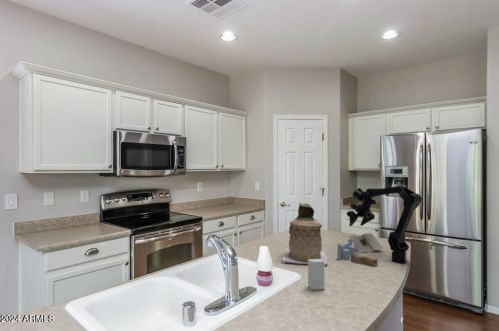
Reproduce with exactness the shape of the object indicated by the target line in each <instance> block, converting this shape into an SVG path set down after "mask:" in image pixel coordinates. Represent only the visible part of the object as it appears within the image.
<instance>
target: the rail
mask: <svg viewBox="0 0 499 331" xmlns="http://www.w3.org/2000/svg"><path fill="white" fill-rule="evenodd" d="M350 262H351V263H354V264H358V265H364V266H368V267H373V268H376V267H378V258H374V257H369V256H366V255H359V254H356V255H355V254H353V255H351V256H350Z"/></svg>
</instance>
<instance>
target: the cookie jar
mask: <svg viewBox="0 0 499 331" xmlns="http://www.w3.org/2000/svg"><path fill="white" fill-rule="evenodd" d="M297 213H298V214H297V216H296V218H295V219H292V220H290V221H289V227H288V228H289V230H288V234H289V240H288V247H289V248H288V247H285V249H284V251H283V255H282V258H281V261H282V263H283V264H285V263H289V264H291V263H292V264H299V265H300V264H302V265H304V264H305V265H308V259H322V260H323V261H324V267H327V265H328V259H327V258H328V257H327V254H326V253H327V252H326V251H324V250H322V246H323V245H322V241H323V240H322V235H321V233H322V232H321V228H322V226H323V223H321V222H320V221H319V220H317V219H315V218H314V214H315V210H314V208H313V207H312V206H311V204H309V203H301V202H298V209H297Z"/></svg>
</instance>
